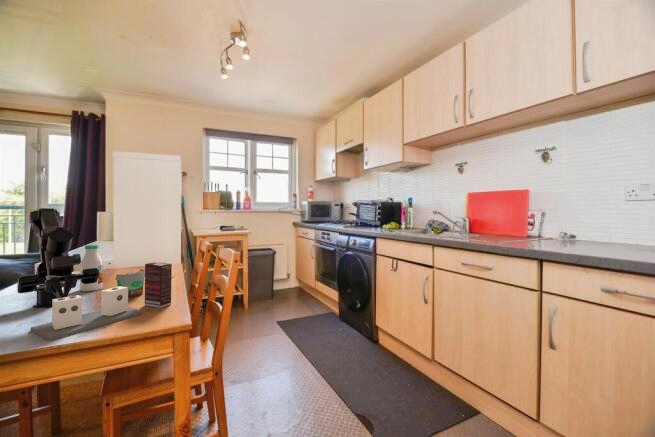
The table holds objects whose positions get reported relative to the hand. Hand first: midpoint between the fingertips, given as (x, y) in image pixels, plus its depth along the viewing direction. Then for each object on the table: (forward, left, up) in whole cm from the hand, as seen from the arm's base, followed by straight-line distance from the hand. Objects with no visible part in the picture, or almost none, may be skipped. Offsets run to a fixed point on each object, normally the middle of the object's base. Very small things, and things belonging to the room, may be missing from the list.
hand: (64, 301), depth 87 cm
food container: (+3, +31, -8) cm, 32 cm away
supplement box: (+18, +19, -8) cm, 27 cm away
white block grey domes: (+3, -3, -6) cm, 8 cm away
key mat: (+6, +3, -7) cm, 10 cm away
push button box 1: (+10, +7, -6) cm, 14 cm away
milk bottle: (-21, +41, -8) cm, 46 cm away
